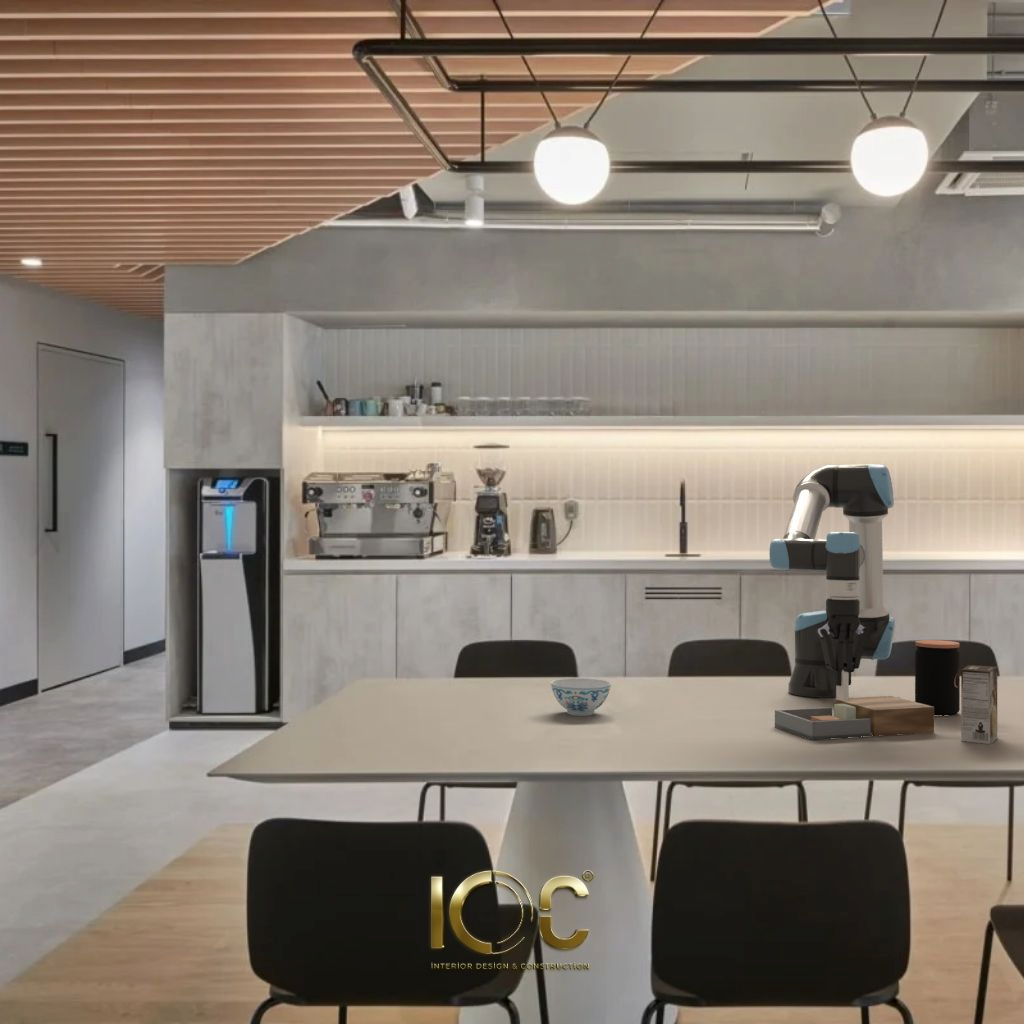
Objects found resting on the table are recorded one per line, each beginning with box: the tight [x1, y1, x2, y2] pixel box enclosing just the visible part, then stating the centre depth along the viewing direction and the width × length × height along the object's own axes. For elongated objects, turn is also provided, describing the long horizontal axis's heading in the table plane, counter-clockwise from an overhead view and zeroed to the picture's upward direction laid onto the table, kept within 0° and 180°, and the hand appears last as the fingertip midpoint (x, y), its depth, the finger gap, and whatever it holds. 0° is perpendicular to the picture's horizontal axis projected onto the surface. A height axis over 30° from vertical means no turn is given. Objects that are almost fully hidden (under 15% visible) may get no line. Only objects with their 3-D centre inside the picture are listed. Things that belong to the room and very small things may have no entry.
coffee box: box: [960, 664, 998, 745], centre depth 244 cm, size 9×6×16 cm
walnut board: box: [833, 695, 935, 737], centre depth 257 cm, size 16×16×6 cm
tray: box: [774, 706, 873, 741], centre depth 252 cm, size 16×16×4 cm
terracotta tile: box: [811, 715, 842, 721], centre depth 252 cm, size 5×5×2 cm
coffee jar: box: [914, 639, 961, 717], centre depth 278 cm, size 11×11×18 cm
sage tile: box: [833, 703, 856, 720], centre depth 254 cm, size 5×5×2 cm
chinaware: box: [550, 677, 612, 717], centre depth 275 cm, size 15×15×8 cm
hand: (842, 699), depth 254 cm, fingers closed
